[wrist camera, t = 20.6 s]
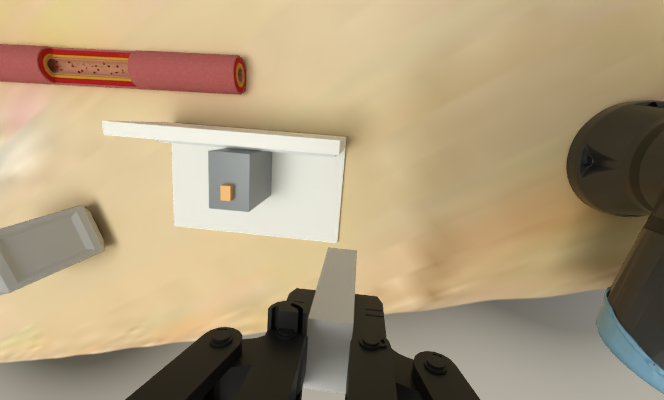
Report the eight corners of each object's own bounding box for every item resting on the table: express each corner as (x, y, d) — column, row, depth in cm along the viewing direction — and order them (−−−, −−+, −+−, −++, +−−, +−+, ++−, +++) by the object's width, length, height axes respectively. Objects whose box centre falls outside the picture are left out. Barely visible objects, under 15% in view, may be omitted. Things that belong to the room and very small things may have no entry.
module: (272, 148, 48) (246, 154, 37) (271, 195, 50) (245, 214, 39) (239, 146, 48) (204, 151, 38) (238, 192, 50) (205, 210, 39)
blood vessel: (246, 59, 47) (233, 51, 42) (246, 96, 48) (233, 92, 43) (-23, 46, 50) (-64, 38, 45) (-17, 81, 51) (-57, 76, 46)
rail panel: (346, 136, 48) (340, 140, 34) (337, 241, 51) (328, 282, 37) (173, 122, 49) (102, 120, 36) (176, 224, 53) (112, 258, 39)
